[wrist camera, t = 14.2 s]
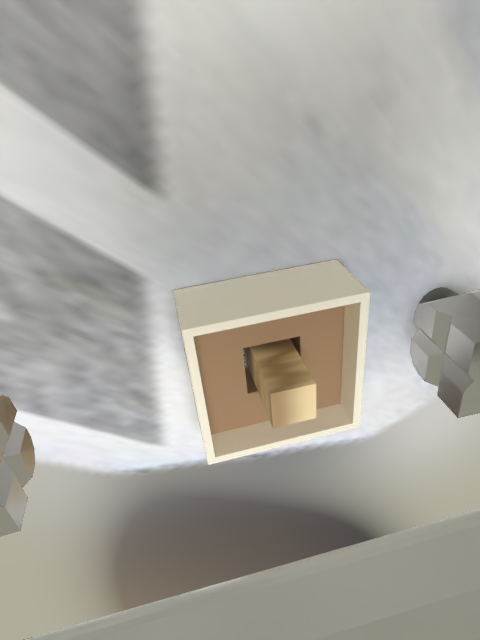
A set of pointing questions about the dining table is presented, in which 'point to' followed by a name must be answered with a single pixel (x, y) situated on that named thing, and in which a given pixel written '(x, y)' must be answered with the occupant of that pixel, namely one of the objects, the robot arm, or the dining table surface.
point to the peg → (282, 382)
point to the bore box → (264, 327)
